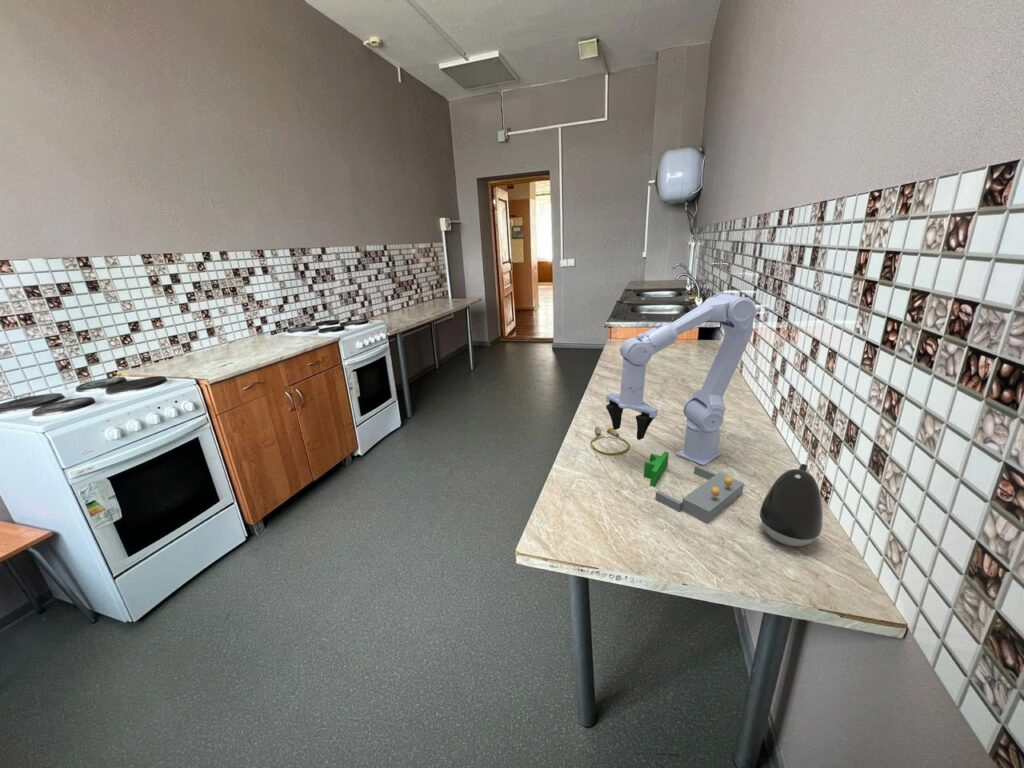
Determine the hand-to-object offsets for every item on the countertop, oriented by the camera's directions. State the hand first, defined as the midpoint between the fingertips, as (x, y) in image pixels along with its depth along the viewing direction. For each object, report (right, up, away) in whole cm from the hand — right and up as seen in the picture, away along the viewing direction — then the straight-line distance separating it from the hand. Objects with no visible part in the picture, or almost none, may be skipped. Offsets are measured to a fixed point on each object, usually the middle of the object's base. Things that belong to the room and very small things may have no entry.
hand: (628, 433), depth 108 cm
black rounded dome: (+24, -18, -26) cm, 40 cm away
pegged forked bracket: (+13, -13, -13) cm, 23 cm away
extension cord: (-2, -5, +14) cm, 15 cm away
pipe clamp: (+6, -10, -3) cm, 12 cm away
